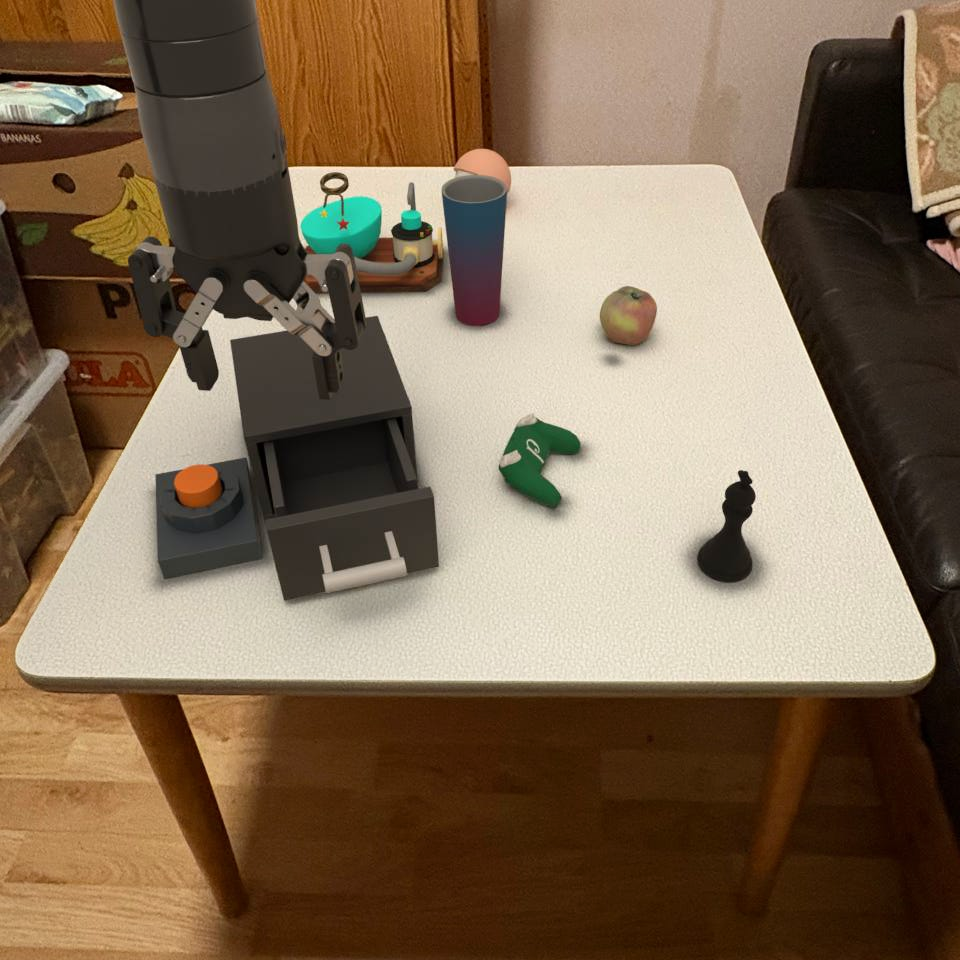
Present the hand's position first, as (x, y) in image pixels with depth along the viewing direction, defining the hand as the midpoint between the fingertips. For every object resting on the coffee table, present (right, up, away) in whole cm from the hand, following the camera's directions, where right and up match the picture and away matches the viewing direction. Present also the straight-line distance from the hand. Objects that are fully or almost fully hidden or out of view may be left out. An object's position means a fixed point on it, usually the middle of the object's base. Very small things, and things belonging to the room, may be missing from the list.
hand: (269, 388), depth 63 cm
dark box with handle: (+4, -12, +13) cm, 18 cm away
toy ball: (+15, +31, +62) cm, 71 cm away
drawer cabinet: (0, -4, +23) cm, 24 cm away
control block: (-9, -10, +17) cm, 21 cm away
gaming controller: (+20, -6, +21) cm, 30 cm away
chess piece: (+35, -13, +12) cm, 39 cm away
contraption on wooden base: (+1, +19, +49) cm, 52 cm away
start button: (-9, -7, +14) cm, 18 cm away
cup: (+14, +13, +42) cm, 46 cm away
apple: (+30, +9, +37) cm, 49 cm away
